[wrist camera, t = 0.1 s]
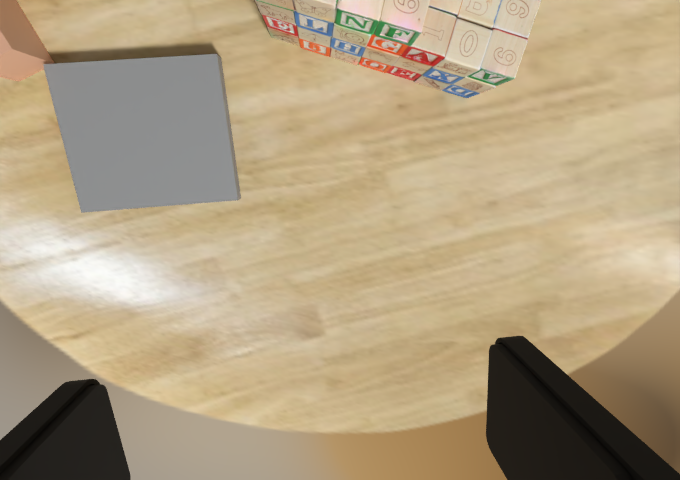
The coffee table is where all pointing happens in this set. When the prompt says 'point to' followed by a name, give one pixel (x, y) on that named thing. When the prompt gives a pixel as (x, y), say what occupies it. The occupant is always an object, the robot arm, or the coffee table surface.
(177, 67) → the slate board
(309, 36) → the stack of blocks
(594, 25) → the coffee table surface
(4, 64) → the terracotta brick
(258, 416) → the coffee table surface
